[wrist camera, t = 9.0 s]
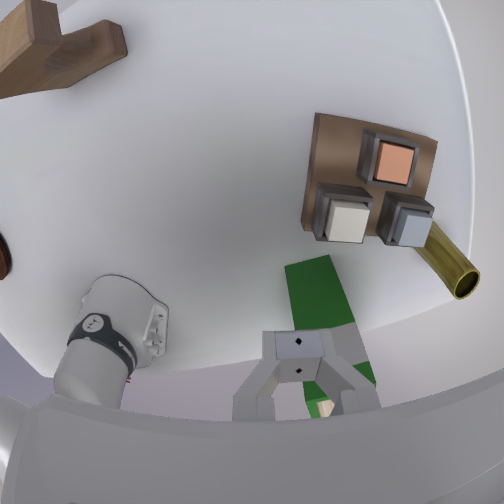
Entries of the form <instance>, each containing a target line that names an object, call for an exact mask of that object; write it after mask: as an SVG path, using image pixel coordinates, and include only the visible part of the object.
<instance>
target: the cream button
mask: <svg viewBox="0 0 504 504" xmlns="http://www.w3.org/2000/svg"><path fill="white" fill-rule="evenodd" d="M369 212H370V210H369V209H368V208H367V207H366V205H365V204H364V203H363V202H361V201H352V200H343V199H333V198H329V203H328V208H327V214H326V219H325V224H324V229H323V230H324V232H325V234H326V236H327V238H328V241H342V242H357V243H362V239H363V235H364V232H365V228H366V224H367V220H368V216H369Z"/></svg>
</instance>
